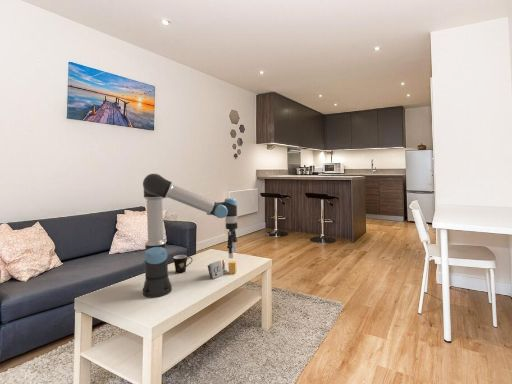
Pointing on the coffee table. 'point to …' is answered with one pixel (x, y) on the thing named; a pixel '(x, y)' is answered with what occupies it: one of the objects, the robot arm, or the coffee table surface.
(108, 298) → the coffee table surface
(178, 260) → the coffee mug
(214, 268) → the electrical switch
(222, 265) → the brass peg
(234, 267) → the yellow upright square block
